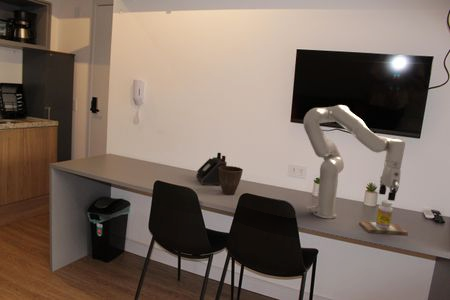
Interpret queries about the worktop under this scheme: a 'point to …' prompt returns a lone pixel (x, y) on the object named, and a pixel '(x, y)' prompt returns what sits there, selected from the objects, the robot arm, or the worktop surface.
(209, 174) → the voltmeter
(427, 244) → the worktop surface
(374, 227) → the walnut board
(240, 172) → the plant pot
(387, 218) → the supplement bottle
